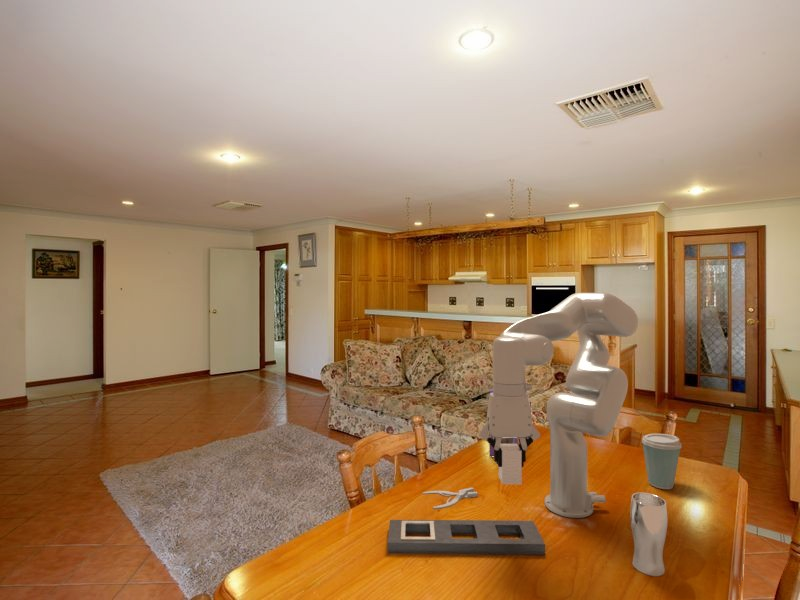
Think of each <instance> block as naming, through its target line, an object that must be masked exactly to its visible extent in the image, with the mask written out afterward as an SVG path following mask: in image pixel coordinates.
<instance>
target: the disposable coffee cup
mask: <svg viewBox="0 0 800 600" xmlns="http://www.w3.org/2000/svg"><path fill="white" fill-rule="evenodd" d="M641 443H642V444H641V445H642V449H643V455H644V462H645V469H646V473H647V474H646V475H647V481H648V482H649V484H650V486H653V488H657V489H660V490H661V489H662V490H672V489H673V487H674V485H675V481H676V475H677V469H678V463H679V457H680V452H681V451H680V450H681V449H682V443H681V441H680V437H678V436H676V435H672V434H668V433H667V434H666V433H649V434H645V435H643V437H642V438H641Z"/></svg>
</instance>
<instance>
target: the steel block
mask: <svg viewBox="0 0 800 600" xmlns="http://www.w3.org/2000/svg"><path fill="white" fill-rule="evenodd" d="M500 449H501V460H502V466H501V467H498V477H499V479H500V482H501V484H502V485H523V483H522V481H523V480H522V479H523V476H522V475H523V474H522V473H523V472H522V471H523V470H522V468H523V467H522V452H521V449H520V448H519V443H518V444H500Z"/></svg>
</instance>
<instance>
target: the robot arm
mask: <svg viewBox="0 0 800 600" xmlns="http://www.w3.org/2000/svg"><path fill="white" fill-rule="evenodd" d="M638 326H639V319H638V315H637V313H636V311H635V310H634V309H633V308H632V307H631V306H629V305H628V304H627V303H626V302H625V301H623V300H622V299H620V298H619V297H617V296H616V295H613V294H611V293H610V292H609V293H608V292H576V293H572V294H571V295H569V296H568V297H566V298H565V299H563V300H562V301H561V302H559V303H558V304H557V305H555V306H554V307H552V308H551V309H550V310H549V311H546V312H543V313H539V314H537V315H534V316H531V317H527V318H525V319H524V318H523V319H522V320H519V321H517V322H515V323H513V324H512V325H509V327H507V328H506V329H505V330H503V332H502V333H500V335H499V336H498V337H496V338H494V340H493V342H492V389H493V393H490V395H488V402H487V413H486V414H487V415H486V423H485V424H484V426H483V427H482V428H481V430H480V431H479V432H478V433H479V437H480V438H482V439H483V440H484V441H486V442H487V443H488V445H489V444H490V445H491V446H492V447H493V448H494V457H493V460H494V463H496V464H497V466H498V468H499V467H501V466H502V460H501V449H500V444H501V440H502V438H518V446H519V448H520V449H521V452H522V468H524V463H526V462H527V461H526V460H527V459H526V457H527V455H526V454H527V453H526V451H527V450H528V448H529V447H530V446H531V445H532V443H533V442H534V441H536V440H537V439H539V438H540V437H541V433H540V432H539V431H538V429H537V428H536V427H535V425H534V424H533V417H532V407H531V402H530V397H529V394H528V393H527V392H528V391H530V390H532V389H533V388H532V387H533V385H532V384H531V383H527V382H526V367H528V366H529V367H530V366H534V367H536V366H537V367H538V366H544V365H546V364H547V363H548V362H550V361H551V360H552V358H553V356H554V353H555V351H554V349H555V347H554V345H553V342H557V341H563V340H565V339H568V338H570V337H572V335H573V334H575V333H576V332H577V335H578V342H579V348H578V350H577V351H578V352H577V353H576V355H575V358H574V359H573V362H572V364H571V366H570V368H569V371H568V372H567V375H566V378H565V386H566V388H567V390H568V391H570V393H569V392H557V393H554V394H552V395H551V396H549V397H548V400H547V403H546V416H547V422H548V426H549V434H550V439H549V441H550V444H549V445H550V448H549V449H550V457H549V458H550V466H549V467H550V475H549V476H550V487H549V488H550V492H549V494H546V496H545V497H544V506H545V507H546V508H547V510H549V511H551V512H552V513H555V514H556V515H559V516H561V517H567V518H570V519H572V518H573V519H581V518H587V517H588V516H591V515H592V514H593V512H594V504H595V503H598V504H601V503H602V504H606V501H607V500H606V496H605V495H604V494H597V492H596V491H588V444H587V441H586V438H585V436H584V434H586V435H591V436H595V437H599V438H602V437H603V438H604V437H606V436H608V435H609V434H611V433H612V431H613V429H614V427H615V425H616V422H617V421H618V418H619V415H620V413H621V410H622V408H623V404H624V402H625V400H626V397H627V394H628V393H627V392H628V387H629V381H628V376H627V375H626V373H625V371H624V370H623V369H622V368H620V367H617V366H613V365H608V363H609V360H610V356H611V355H610V351H609V348H608V347H607V345H606V343H605V342H604V341H603V340H602V338H601V336H609V337H617V338H618V337H619V338H622V337H623V338H624V337H625V338H627V337H630V336H632V335H633V334H634V333H635V334H636V332H637V329H638ZM489 431H490V435H491V436H492V437H494V438H493V439H492V438H491V437H490V436H489Z"/></svg>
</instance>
